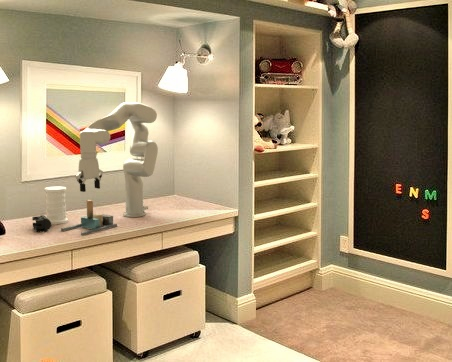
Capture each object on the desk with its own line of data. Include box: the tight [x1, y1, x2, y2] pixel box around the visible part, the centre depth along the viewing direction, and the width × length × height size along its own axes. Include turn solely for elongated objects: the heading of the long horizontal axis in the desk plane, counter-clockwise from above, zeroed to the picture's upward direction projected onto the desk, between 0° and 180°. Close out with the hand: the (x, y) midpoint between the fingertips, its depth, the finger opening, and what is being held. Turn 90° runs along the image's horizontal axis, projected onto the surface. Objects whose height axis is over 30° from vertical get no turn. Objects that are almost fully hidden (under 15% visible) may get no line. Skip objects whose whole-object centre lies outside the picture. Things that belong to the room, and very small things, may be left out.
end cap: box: [31, 214, 52, 233], centre depth 278 cm, size 10×7×7 cm
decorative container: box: [44, 185, 69, 225], centre depth 295 cm, size 12×12×18 cm
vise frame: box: [60, 213, 118, 236], centre depth 282 cm, size 23×16×5 cm
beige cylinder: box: [93, 213, 104, 227], centre depth 286 cm, size 5×5×6 cm
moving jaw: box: [80, 199, 100, 230], centre depth 282 cm, size 3×10×14 cm, turn 57°
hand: (90, 189), depth 280 cm, fingers open, 9 cm apart
